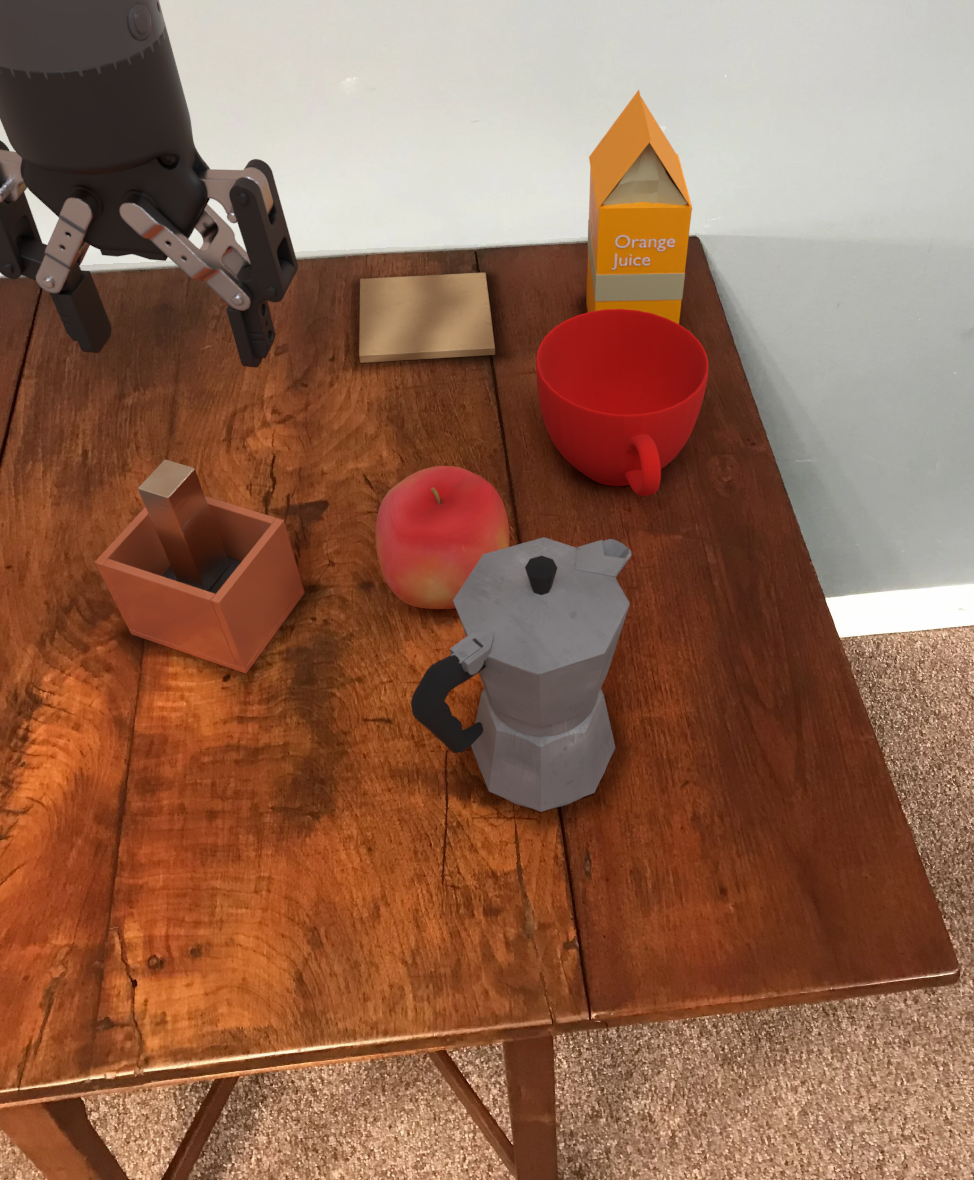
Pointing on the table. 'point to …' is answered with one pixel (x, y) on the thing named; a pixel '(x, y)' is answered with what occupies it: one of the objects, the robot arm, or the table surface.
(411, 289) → the board
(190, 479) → the steel square post
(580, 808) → the table surface
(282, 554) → the box
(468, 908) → the table surface
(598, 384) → the ceramic cup
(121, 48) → the robot arm
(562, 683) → the coffeepot
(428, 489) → the apple
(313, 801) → the table surface
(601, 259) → the orange juice
